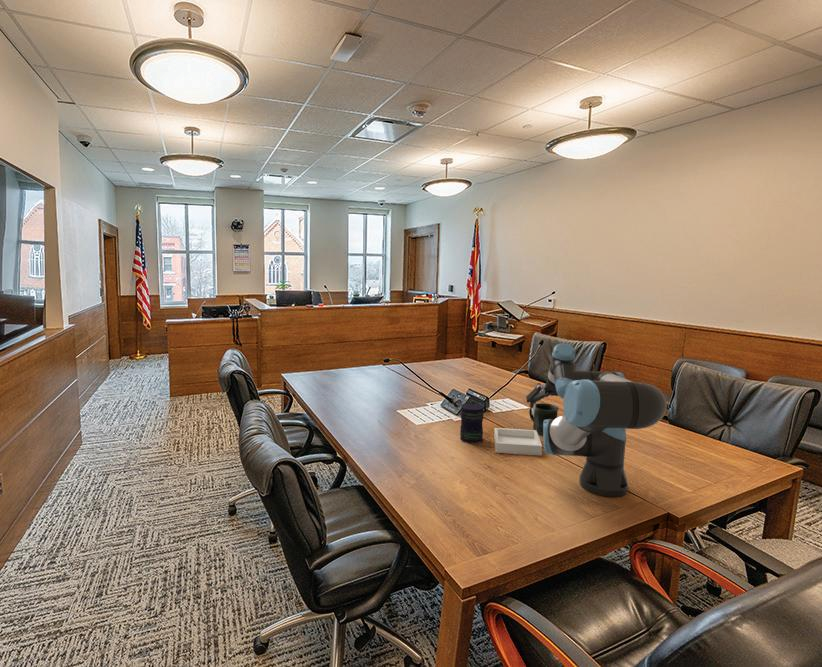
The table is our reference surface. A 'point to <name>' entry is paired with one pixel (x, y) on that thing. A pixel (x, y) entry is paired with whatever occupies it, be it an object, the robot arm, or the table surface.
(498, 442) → the tray
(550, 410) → the mug
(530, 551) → the table surface
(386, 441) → the table surface
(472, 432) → the dark blue canister
